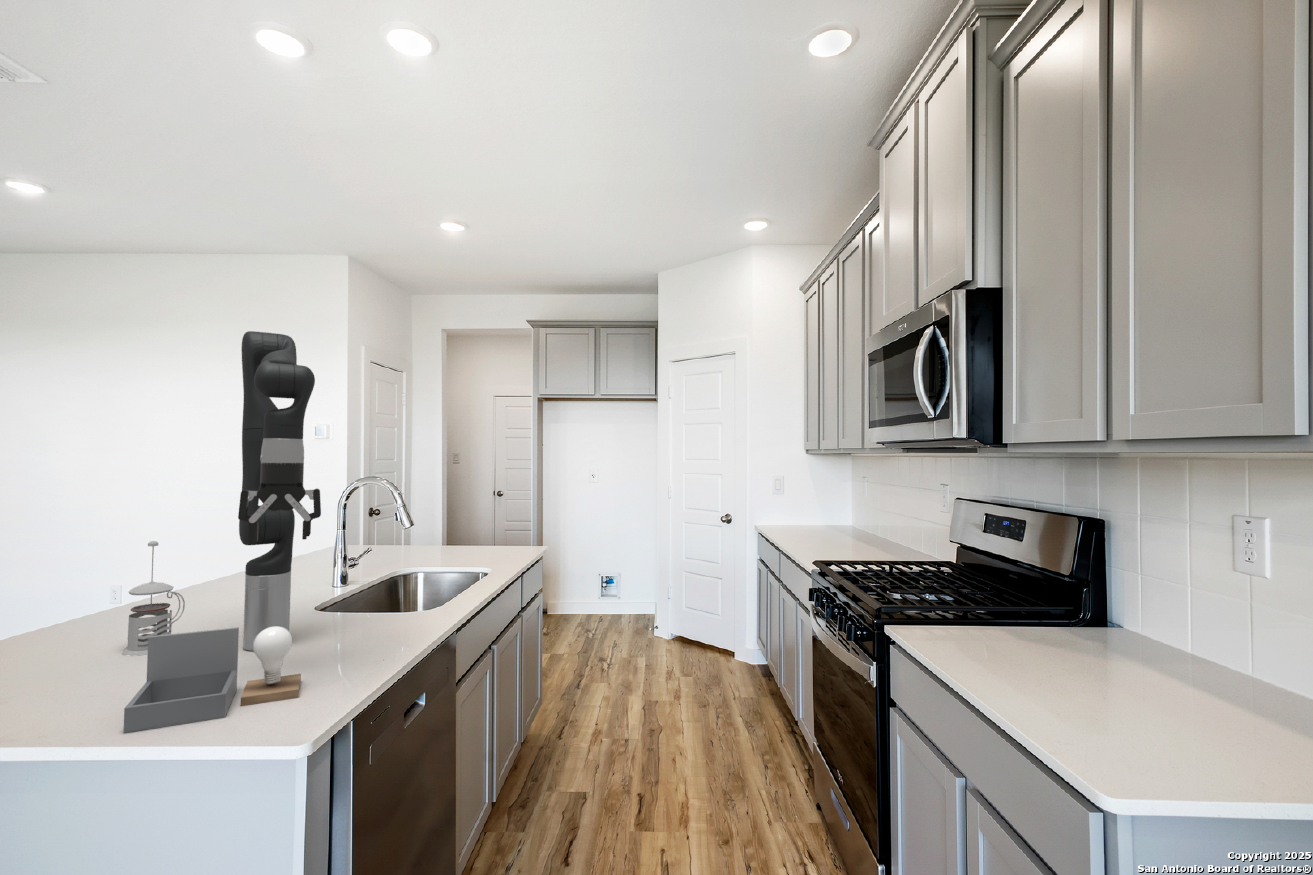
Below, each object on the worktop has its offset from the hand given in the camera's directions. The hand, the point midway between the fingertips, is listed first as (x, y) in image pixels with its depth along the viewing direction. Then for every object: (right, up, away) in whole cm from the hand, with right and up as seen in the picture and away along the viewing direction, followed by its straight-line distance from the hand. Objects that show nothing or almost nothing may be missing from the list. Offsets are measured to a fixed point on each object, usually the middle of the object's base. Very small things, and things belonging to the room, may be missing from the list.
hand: (280, 540), depth 123 cm
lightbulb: (+3, -27, -8) cm, 28 cm away
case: (-7, -28, -16) cm, 33 cm away
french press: (-41, -28, +18) cm, 52 cm away
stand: (+3, -28, -8) cm, 29 cm away
